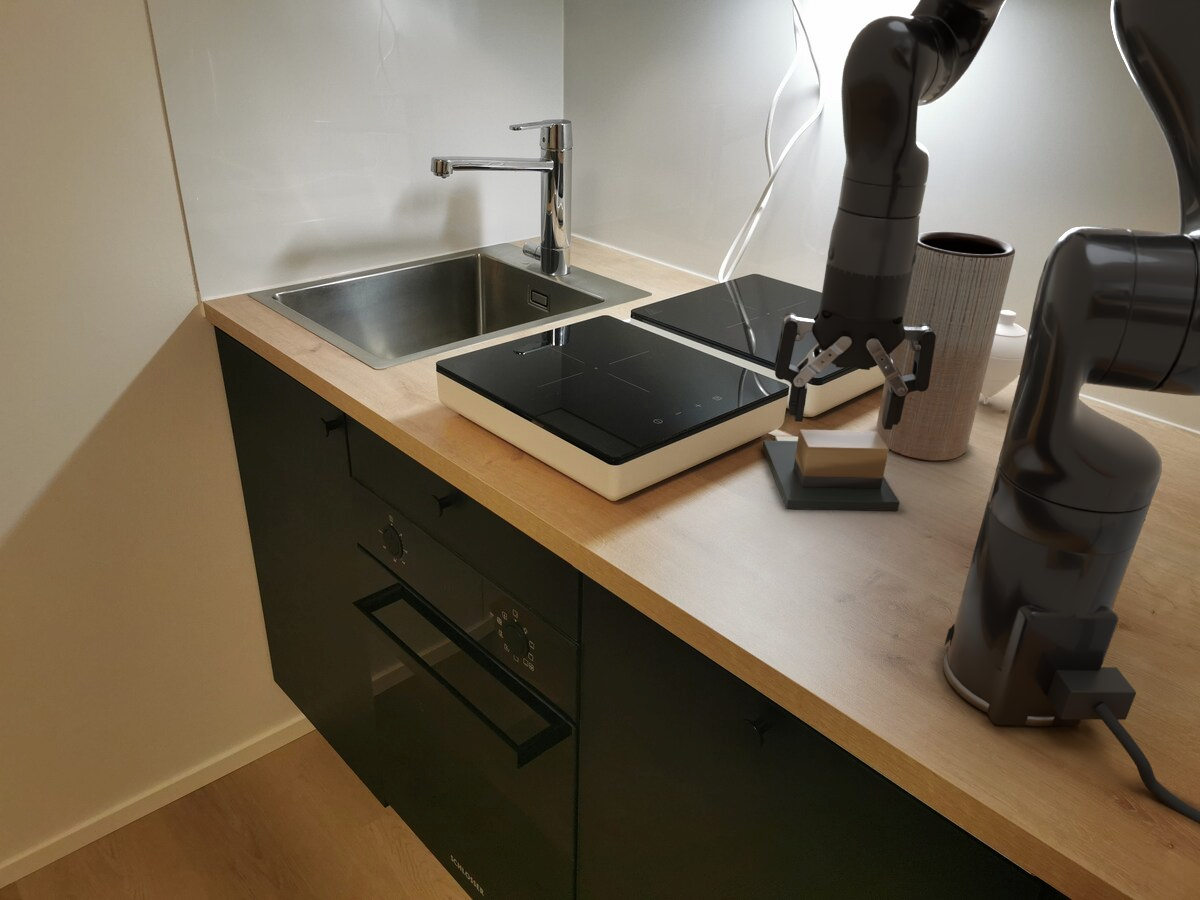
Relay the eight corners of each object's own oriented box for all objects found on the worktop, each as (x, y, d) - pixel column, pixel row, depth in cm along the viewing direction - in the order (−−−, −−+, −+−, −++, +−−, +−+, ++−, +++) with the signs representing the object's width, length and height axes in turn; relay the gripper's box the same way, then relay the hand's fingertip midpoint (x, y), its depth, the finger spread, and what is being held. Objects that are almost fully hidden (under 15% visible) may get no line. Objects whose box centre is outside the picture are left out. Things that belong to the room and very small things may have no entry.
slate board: (897, 511, 89) (899, 502, 88) (786, 508, 88) (788, 500, 88) (860, 450, 100) (862, 442, 100) (762, 448, 100) (763, 440, 100)
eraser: (881, 488, 91) (889, 448, 89) (801, 487, 90) (808, 447, 88) (869, 469, 94) (877, 430, 92) (793, 468, 94) (799, 429, 92)
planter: (970, 468, 97) (1022, 259, 87) (874, 454, 100) (914, 249, 89) (962, 429, 106) (1009, 236, 96) (874, 417, 108) (910, 227, 98)
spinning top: (941, 393, 116) (961, 302, 110) (995, 390, 117) (1018, 301, 112) (973, 418, 109) (997, 323, 104) (1030, 415, 110) (1057, 321, 105)
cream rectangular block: (806, 436, 102) (805, 439, 103) (775, 436, 102) (775, 438, 102) (809, 442, 101) (808, 445, 101) (778, 442, 101) (777, 444, 101)
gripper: (943, 255, 84) (910, 413, 92) (788, 244, 86) (767, 400, 93) (960, 278, 78) (922, 446, 85) (791, 265, 79) (769, 432, 87)
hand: (841, 422), depth 89 cm, fingers open, 8 cm apart
